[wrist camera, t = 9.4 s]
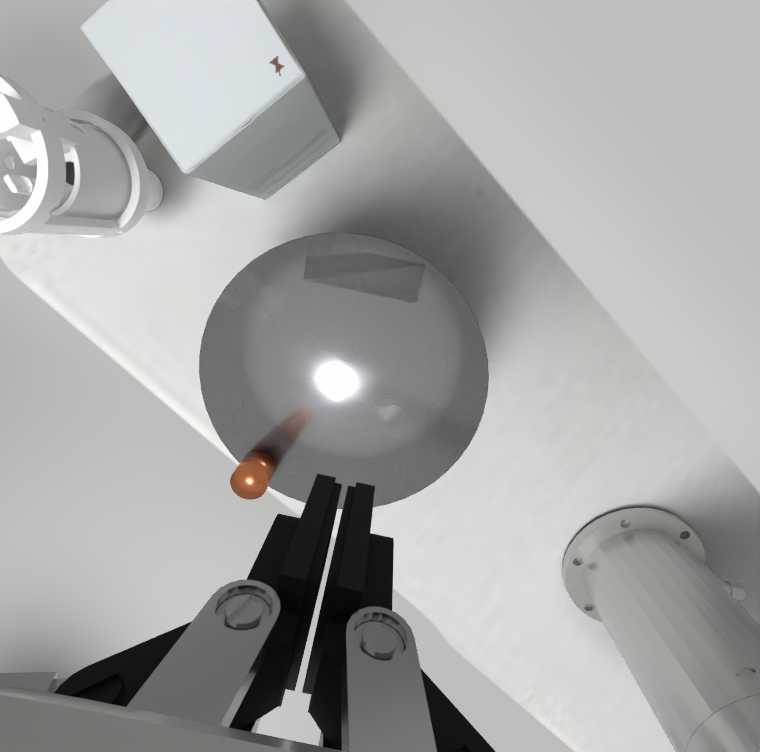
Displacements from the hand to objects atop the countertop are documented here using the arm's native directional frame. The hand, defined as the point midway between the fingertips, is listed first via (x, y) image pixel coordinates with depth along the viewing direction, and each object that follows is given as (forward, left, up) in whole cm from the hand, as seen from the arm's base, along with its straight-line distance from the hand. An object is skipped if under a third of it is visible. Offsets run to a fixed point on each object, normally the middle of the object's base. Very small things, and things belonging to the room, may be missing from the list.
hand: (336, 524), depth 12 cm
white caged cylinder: (+19, -8, -24) cm, 32 cm away
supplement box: (+10, -14, -24) cm, 30 cm away
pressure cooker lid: (+1, 0, -14) cm, 14 cm away
